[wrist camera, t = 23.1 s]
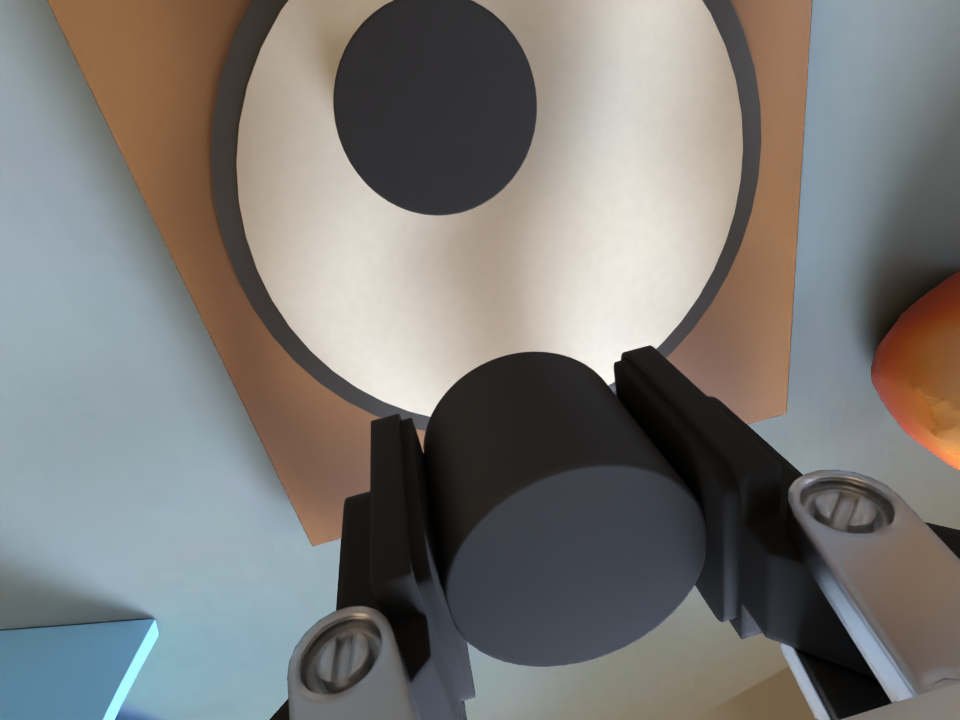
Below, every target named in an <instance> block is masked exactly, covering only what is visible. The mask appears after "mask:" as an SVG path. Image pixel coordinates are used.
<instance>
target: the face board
mask: <svg viewBox="0 0 960 720" xmlns="http://www.w3.org/2000/svg"><path fill="white" fill-rule="evenodd" d="M47 1H48V3H49V5H50V7H51V9H52V11H53V13H54V15H55V17H56V19H57V21H58V23H59V25H60V27H61V29H62V32H63V34H64V36H65V38H66V40H67V42H68V44H69V46H70V48H71V50H72V52H73V54H74V56H75V58H76V60H77V62H78V64H79V67H80V69H81V71H82V73H83V75H84V77H85V79H86V81H87V83H88V85H89V87H90V89H91V91H92V93H93V95H94V97H95V100H96V102H97V104H98V106H99V108H100V110H101V112H102V114H103V116H104V118H105V120H106V122H107V124H108V126H109V128H110V130H111V133H112V135H113V137H114V139H115V141H116V143H117V145H118V147H119V149H120V151H121V153H122V155H123V157H124V159H125V161H126V163H127V165H128V168H129V170H130V172H131V174H132V176H133V178H134V180H135V182H136V184H137V186H138V188H139V190H140V192H141V194H142V196H143V198H144V201H145V203H146V205H147V207H148V209H149V211H150V213H151V215H152V217H153V219H154V221H155V223H156V225H157V227H158V229H159V231H160V234H161V236H162V238H163V240H164V242H165V244H166V246H167V248H168V250H169V252H170V254H171V256H172V258H173V260H174V262H175V264H176V266H177V269H178V271H179V273H180V275H181V277H182V279H183V281H184V283H185V285H186V287H187V289H188V291H189V293H190V295H191V297H192V299H193V302H194V304H195V306H196V308H197V310H198V312H199V314H200V316H201V318H202V320H203V322H204V324H205V326H206V328H207V330H208V332H209V335H210V337H211V339H212V341H213V343H214V345H215V347H216V349H217V351H218V353H219V355H220V357H221V359H222V361H223V363H224V365H225V368H226V370H227V372H228V374H229V376H230V378H231V380H232V382H233V384H234V386H235V388H236V390H237V392H238V394H239V396H240V398H241V400H242V403H243V405H244V407H245V409H246V411H247V413H248V415H249V417H250V419H251V421H252V423H253V425H254V427H255V429H256V431H257V433H258V436H259V438H260V440H261V442H262V444H263V446H264V448H265V450H266V452H267V454H268V456H269V458H270V460H271V462H272V464H273V466H274V469H275V471H276V473H277V475H278V477H279V479H280V481H281V483H282V485H283V487H284V489H285V491H286V493H287V495H288V497H289V499H290V501H291V504H292V506H293V508H294V510H295V512H296V514H297V516H298V518H299V520H300V522H301V524H302V526H303V528H304V530H305V532H306V534H307V537H308V539H309V541H310V543H311V545H312V546H316V545H319V544H323V543H326V542H330V541H333V540H337V539H341V536H342V522H343V508H344V501H345V499H346V498H347V497H351V496H354V495H358V494H361V493H365V492H368V491H370V457H371V421H372V420H376V419H380V418H383V417H387V416H391V415H394V414H398V413H399V414H400V416H401V418H402V420H404V419H408V418H412V419H413V422H414V425H415V428H416V431H417V434H418V438H419V441H420V444H421V447H422V450H423V447H424V436H425V432H426V428H427V425H428V422H429V420H430V417H431V415H432V413H433V411H434V409H435V407H436V406H437V404H438V402H439V401H440V400H441V398H442V397H443V396H444V395H445V393H446V392H447V391H448V390H449V389H450V388H451V387H452V386H453V385H454V384H455V383H456V382H457V381H458V380H459V379H460V378H462V377H463V376H464V375H466V374H467V373H468V372H470V371H472V370H473V369H475V368H476V367H478V366H480V365H482V364H484V363H486V362H488V361H491V360H493V359H496V358H499V357H502V356H505V355H510V354H515V353H520V352H532V351H534V352H550V353H556V354H561V355H564V356H567V357H571V358H573V359H575V360H578V361H580V362H582V363H584V364H585V365H587V366H588V367H590V368H591V369H593V370H594V371H595V372H596V373H597V374H598V375H599V376H601V377H602V379H603V380H604V381H605V382H606V384H607V385H608V386H609V387H610V389H611V390H612V391H613V392H614V394H615V395H616V386H615V377H614V363H615V362H617V361H621V355H622V353H623V352H626V351H630V350H634V349H637V348H641V347H645V346H648V345H651V346H653V347H654V348H655V349H656V350H658V351H659V352H660V353H661V354H662V355H663V356H664V357H665V358H666V359H667V360H668V361H669V362H671V363H672V364H673V365H674V366H675V367H676V368H677V369H678V370H679V371H680V372H681V373H682V374H684V375H685V376H686V377H687V378H688V379H689V380H690V381H691V382H692V383H693V384H694V385H695V386H697V387H698V388H699V389H700V390H701V391H702V392H703V393H704V394H705V395H706V396H707V397H709V396H712V397H716V398H717V399H719V400H720V401H721V402H722V403H724V404H725V405H726V406H727V407H728V408H729V409H730V410H731V411H732V412H734V413H735V414H736V415H737V416H738V417H739V418H740V419H741V420H742V421H744V422H745V423H746V424H751V423H754V422H758V421H762V420H765V419H769V418H772V417H776V416H779V415H783V414H786V410H787V394H788V379H789V363H790V347H791V331H792V315H793V299H794V284H795V268H796V252H797V236H798V220H799V204H800V189H801V173H802V157H803V141H804V125H805V109H806V93H807V78H808V62H809V46H810V30H811V14H812V0H472V1H474V2H476V3H478V4H480V5H482V6H483V7H485V8H486V9H488V10H489V11H490V12H492V13H493V14H494V15H496V16H497V17H498V18H499V19H500V20H501V21H502V22H503V23H504V24H505V25H506V26H507V27H508V29H509V30H510V31H511V32H512V33H513V35H514V36H515V37H516V39H517V41H518V42H519V44H520V45H521V47H522V49H523V51H524V53H525V55H526V57H527V59H528V62H529V65H530V68H531V71H532V74H533V78H534V83H535V87H536V97H537V119H536V126H535V132H534V136H533V139H532V143H531V146H530V149H529V151H528V154H527V156H526V158H525V160H524V162H523V164H522V166H521V168H520V169H519V171H518V172H517V173H516V175H515V176H514V178H513V179H512V180H511V181H510V182H509V184H508V185H507V186H506V187H505V188H504V189H503V190H502V191H501V192H499V193H498V194H497V195H496V196H495V197H493V198H492V199H490V200H489V201H487V202H486V203H484V204H482V205H480V206H478V207H476V208H474V209H471V210H468V211H465V212H462V213H458V214H452V215H441V216H434V215H423V214H419V213H414V212H411V211H408V210H405V209H402V208H400V207H398V206H396V205H394V204H392V203H390V202H388V201H387V200H385V199H384V198H382V197H381V196H379V195H378V194H377V193H376V192H374V191H373V190H372V189H371V188H370V187H369V186H368V185H367V184H366V183H365V182H364V181H363V180H362V178H361V177H360V176H359V175H358V174H357V172H356V171H355V169H354V168H353V166H352V165H351V163H350V161H349V160H348V158H347V156H346V154H345V152H344V150H343V147H342V144H341V142H340V139H339V136H338V132H337V128H336V124H335V117H334V108H333V92H334V84H335V77H336V73H337V69H338V65H339V62H340V59H341V57H342V55H343V52H344V50H345V48H346V46H347V44H348V42H349V41H350V39H351V37H352V35H353V34H354V33H355V32H356V30H357V29H358V28H359V26H360V25H361V24H362V23H363V22H364V21H365V20H366V19H367V18H368V17H369V16H370V15H371V14H372V13H374V12H375V11H376V10H378V9H379V8H381V7H382V6H384V5H385V4H387V3H389V2H391V1H393V0H47ZM423 453H424V451H423Z"/></svg>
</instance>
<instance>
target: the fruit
mask: <svg viewBox="0 0 960 720" xmlns="http://www.w3.org/2000/svg"><path fill="white" fill-rule="evenodd" d="M871 377H872V383H873V385H874V387H875V389H876V391H877V392H878V394H879V396H880V398H881V400H882V401H883V403H884V404H885V406H886V407H887V409H888V410H889V412H890V413H891V415H892V416H893V417H894V418H895V420H896V421H897V422H898V424H899V425H900V426H901V428H902V429H903V430H904V431H905V432H906V433H907V434H908V435H909V436H911V437H912V438H913V439H914V440H916V441H917V442H918V443H920V444H921V445H922V446H924V447H925V448H926V449H928V450H929V451H931V452H932V453H933V454H935V455H936V456H938V457H939V458H940V459H942V460H943V461H945V462H946V463H947V464H949V465H950V466H952V467H954V468H955V469H957V470H959V471H960V270H959V271H957V272H956V273H954V274H952V275H951V276H949V277H948V278H946V279H945V280H944V281H942V282H941V283H940V284H939V285H937V286H936V287H935V288H934V289H932V290H931V291H929V292H928V293H927V294H925V295H924V296H923V297H921V298H920V299H919V300H917V301H916V302H915V303H913V304H912V305H911V306H910V307H909V308H908V309H907V310H906V311H905V312H904V313H903V314H902V315H901V316H900V317H899V319H898V320H897V321H896V323H895V324H894V325H893V327H892V328H891V329H890V331H889V332H888V333H887V335H886V336H885V337H884V339H883V340H882V341H881V342H880V344H879V345H878V347H877V349H876V352H875V356H874V360H873V363H872V367H871Z"/></svg>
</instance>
